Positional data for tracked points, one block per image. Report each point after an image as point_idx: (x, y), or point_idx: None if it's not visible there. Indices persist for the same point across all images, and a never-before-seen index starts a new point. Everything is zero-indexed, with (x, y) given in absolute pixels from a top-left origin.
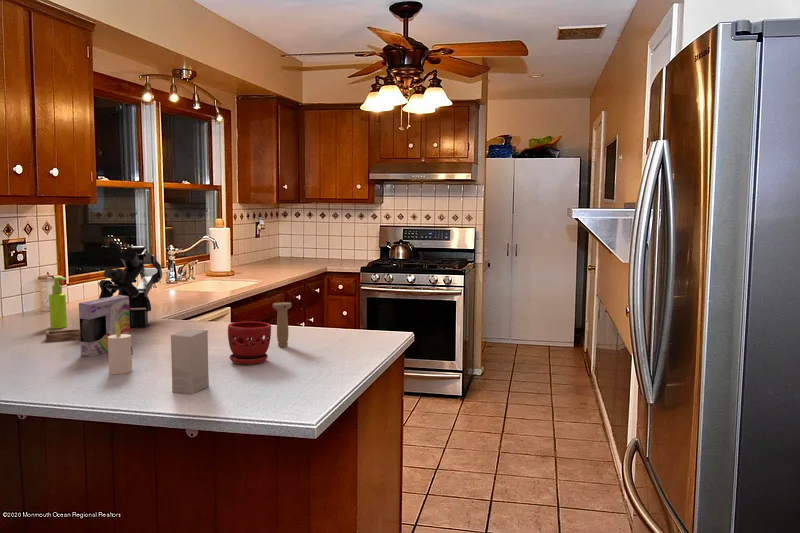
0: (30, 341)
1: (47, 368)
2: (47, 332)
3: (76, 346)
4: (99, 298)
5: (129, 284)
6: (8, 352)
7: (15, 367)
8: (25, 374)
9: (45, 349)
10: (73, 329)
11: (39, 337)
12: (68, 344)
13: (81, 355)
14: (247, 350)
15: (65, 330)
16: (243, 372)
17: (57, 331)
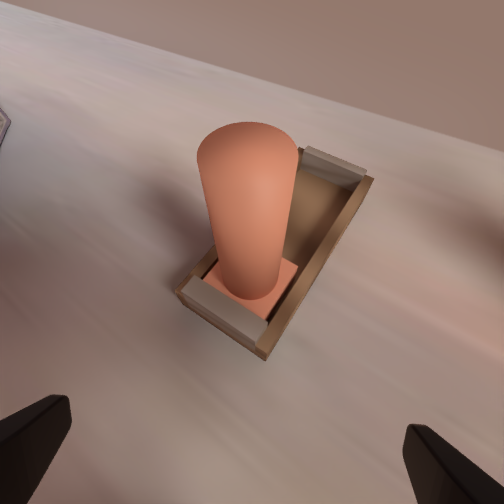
0: (347, 151)
1: (12, 52)
2: (314, 152)
3: (124, 173)
4: (496, 499)
5: None
6: (240, 76)
7: (89, 37)
8: (25, 28)
9: (183, 120)
10: (325, 256)
11: (405, 195)
12: (179, 178)
13: (7, 119)
14: None
15: (332, 225)
16: None
17: (347, 204)
